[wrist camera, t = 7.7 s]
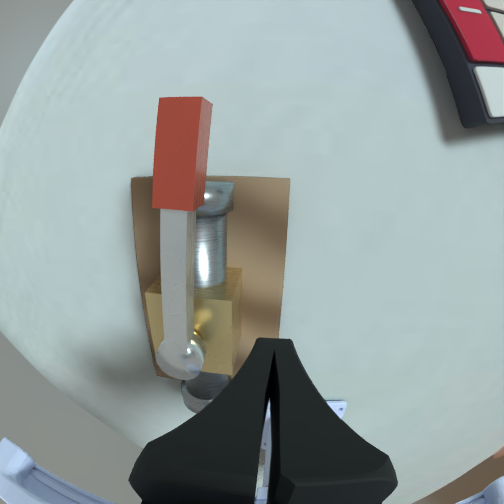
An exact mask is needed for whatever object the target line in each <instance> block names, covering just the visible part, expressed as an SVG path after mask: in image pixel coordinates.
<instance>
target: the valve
mask: <svg viewBox="0 0 504 504" xmlns="http://www.w3.org/2000/svg"><path fill="white" fill-rule="evenodd" d="M233 210H234V182H233V181H228V180H206V184H205V199H204V204H203V205H202V206H200V207H199V208H197V209H196V230H195V260H194V334H195V335H197V336H198V337H199V338H200V339H201V340H202V341H203V342H204V344H205V346H206V351H207V352H206V357H205V360H204V362H203V365H202V368H201V371H200V373H199V375H198V376H197V377H195V378H193V379H190V380H182V382H181V390H182V395H183V400H184V403H185V405H186V406H187V408H188V409H190V410H191V411H192V412H194V413H198V412H200V411H201V410H202V409H203V408H204V407H206V406H207V405H208V404H209V403H210V402H211V401H212V400H213V399H214V398H215V397H216V396H217V395H218V394H219V393H220V392H221V391H222V390H223V389H224V388H225V387H226V386H227V385H228V384H229V382H230V381H231V380H232V378H231V377H230V376H229V375H233V370H234V366H235V361H236V356H237V352H238V347H239V343H240V338H241V327H242V268H237V267H227V213H228V212H231V211H233ZM145 298H146V305H147V311H148V317H149V323H150V329H151V335H152V340H153V345H154V350H155V355H156V351H157V350H158V348H159V346H160V345H161V343H162V341H163V339H164V325H163V310H162V291H161V275H160V276H159V277H158V278H157V279H156V280H155V282H154V283H153V284H152V285H151V286H150V287H149V288H148V289H147V290H146V292H145Z"/></svg>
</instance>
